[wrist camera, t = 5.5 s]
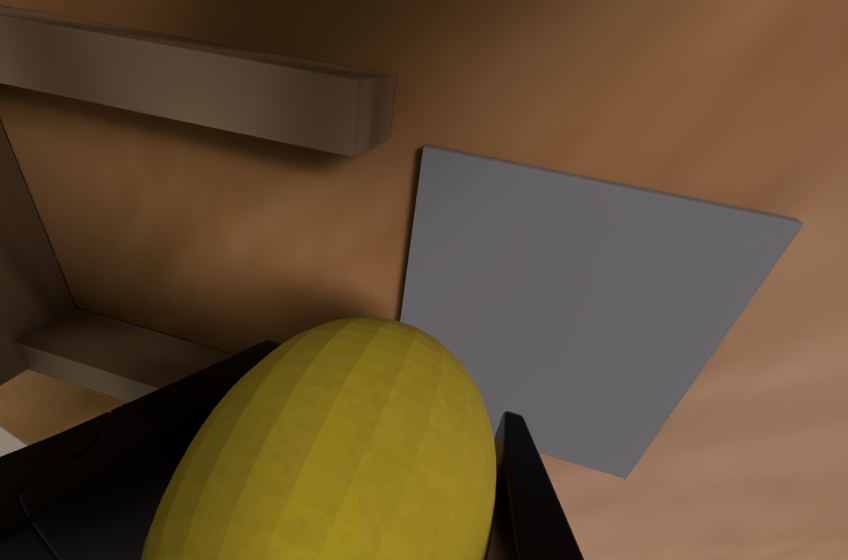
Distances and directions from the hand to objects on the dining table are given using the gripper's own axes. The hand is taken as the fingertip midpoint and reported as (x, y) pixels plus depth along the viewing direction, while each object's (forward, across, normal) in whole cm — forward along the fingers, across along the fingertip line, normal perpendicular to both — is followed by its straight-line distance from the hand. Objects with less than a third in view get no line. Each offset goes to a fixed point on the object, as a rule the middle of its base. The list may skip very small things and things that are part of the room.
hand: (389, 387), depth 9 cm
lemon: (+2, 0, 0) cm, 2 cm away
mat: (+4, -4, 0) cm, 5 cm away
